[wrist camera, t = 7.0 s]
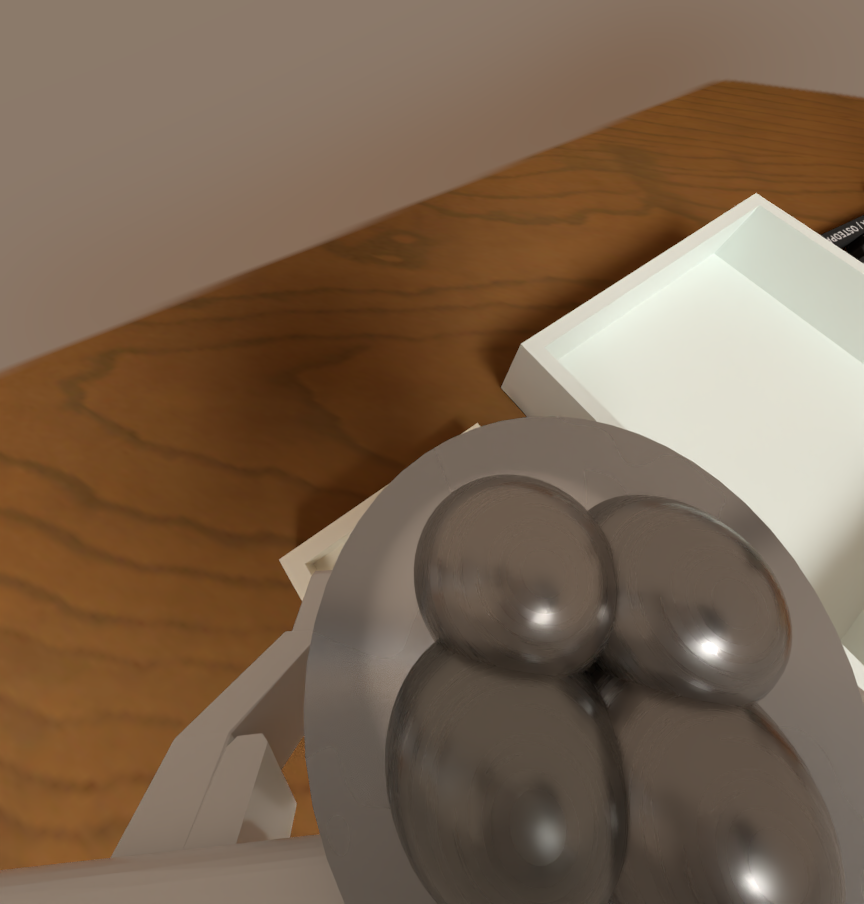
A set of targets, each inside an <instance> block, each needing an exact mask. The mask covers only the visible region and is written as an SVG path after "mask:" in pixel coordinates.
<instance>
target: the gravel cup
mask: <svg viewBox="0 0 864 904" xmlns="http://www.w3.org/2000/svg"><path fill="white" fill-rule="evenodd" d="M304 733H305V758H306V764H307V771H308V778H309V784H310V791H311V798H312V804H313V809H314V813H315V817H316V821H317V824H318V828H319V832H320V835H321V839H322V843H323V847H324V850H325V854H326V858H327V861H328V863H329V866H330V868H331V871H332V873H333V876H334V878H335V881H336V883H337V886H338V888H339V891H340V893H341V896H342V898H343V901H344V904H864V704H863V701H862V698H861V695H860V692H859V688H858V685H857V682H856V679H855V676H854V673H853V669H852V667H851V664H850V662H849V660H848V657H847V655H846V653H845V650H844V648H843V645H842V643H841V641H840V638H839V636H838V634H837V631H836V629H835V627H834V625H833V623H832V621H831V619H830V618H829V616H828V614H827V612H826V610H825V608H824V606H823V605H822V603H821V601H820V599H819V597H818V595H817V593H816V592H815V590H814V589H813V587H812V585H811V584H810V582H809V581H808V579H807V578H806V576H805V575H804V573H803V572H802V570H801V569H800V567H799V566H798V564H797V563H796V561H795V560H794V558H793V557H792V556H791V555H790V553H789V552H788V551H787V549H786V548H785V547H784V546H783V544H782V543H781V542H780V541H779V539H778V538H777V537H776V536H775V534H774V533H773V532H772V531H771V529H770V528H769V527H768V526H767V525H766V524H765V523H764V522H763V521H762V520H761V519H760V518H759V517H758V516H757V515H756V514H755V513H754V512H753V511H752V509H751V508H750V507H749V506H748V505H747V504H746V503H745V502H743V501H742V500H741V499H740V498H739V497H738V496H737V495H735V494H734V493H733V492H732V491H731V490H730V489H729V488H727V487H726V486H725V485H724V484H723V483H722V482H720V481H719V480H718V479H716V478H715V477H714V476H712V475H711V474H709V473H708V472H707V471H705V470H704V469H702V468H701V467H700V466H698V465H697V464H695V463H694V462H693V461H691V460H689V459H687V458H686V457H684V456H682V455H680V454H679V453H677V452H675V451H673V450H672V449H670V448H668V447H667V446H664V445H662V444H660V443H658V442H656V441H653V440H651V439H649V438H647V437H644V436H642V435H640V434H638V433H634V432H631V431H628V430H625V429H622V428H619V427H616V426H613V425H610V424H605V423H600V422H595V421H591V420H586V419H579V418H568V417H557V416H548V417H525V418H518V419H512V420H505V421H499V422H496V423H492V424H489V425H485V426H482V427H478V428H475V429H472V430H470V431H468V432H465V433H463V434H461V435H458V436H456V437H454V438H451V439H449V440H447V441H445V442H444V443H442V444H440V445H439V446H437V447H435V448H434V449H432V450H430V451H429V452H427V453H425V454H424V455H422V456H421V457H420V458H418V459H417V460H416V461H415V462H413V463H412V464H411V465H409V466H408V467H407V468H406V469H404V470H403V471H402V472H401V473H400V474H399V475H398V476H397V477H396V478H395V479H394V480H393V481H392V482H391V483H390V484H389V485H388V486H387V487H386V488H385V489H384V490H383V491H382V492H381V493H380V494H379V495H378V496H377V497H376V499H375V500H374V501H373V503H372V504H371V505H370V507H369V508H368V509H367V510H366V512H365V513H364V514H363V516H362V517H361V518H360V520H359V521H358V523H357V524H356V526H355V528H354V529H353V531H352V533H351V534H350V536H349V538H348V540H347V541H346V543H345V545H344V546H343V548H342V550H341V552H340V554H339V556H338V559H337V561H336V563H335V565H334V568H333V570H332V572H331V575H330V577H329V579H328V581H327V584H326V587H325V590H324V593H323V596H322V600H321V603H320V606H319V609H318V613H317V616H316V619H315V623H314V628H313V633H312V639H311V644H310V650H309V655H308V660H307V668H306V682H305V696H304Z"/></svg>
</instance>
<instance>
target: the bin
mask: <svg viewBox="0 0 864 904" xmlns="http://www.w3.org/2000/svg"><path fill="white" fill-rule="evenodd" d="M501 388H502V390H503V391H504V392H505V393H506V394H507V395H508V396H509V397H510V398H511V399H512V401H513V402H514V403H515V404H516V405H517V406H518V407H519V408H520V409H521V410H522V412H523V413H524V414H525V415H526V416H527V417H548V416H557V417H568V418H579V419H586V420H591V421H595V422H600V423H605V424H610V425H613V426H616V427H619V428H622V429H625V430H628V431H631V432H634V433H638V434H640V435H642V436H644V437H647V438H649V439H651V440H653V441H656V442H658V443H660V444H662V445H664V446H667V447H668V448H670V449H672V450H673V451H675V452H677V453H679V454H680V455H682V456H684V457H686V458H687V459H689V460H691V461H693V462H694V463H695V464H697V465H698V466H700V467H701V468H702V469H704V470H705V471H707V472H708V473H709V474H711V475H712V476H714V477H715V478H716V479H718V480H719V481H720V482H722V483H723V484H724V485H725V486H726V487H727V488H729V489H730V490H731V491H732V492H733V493H734V494H735V495H737V496H738V497H739V498H740V499H741V500H742V501H743V502H745V503H746V504H747V505H748V506H749V507H750V508H751V509H752V511H753V512H754V513H755V514H756V515H757V516H758V517H759V518H760V519H761V520H762V521H763V522H764V523H765V524H766V525H767V526H768V527H769V528H770V529H771V531H772V532H773V533H774V534H775V536H776V537H777V538H778V539H779V541H780V542H781V543H782V544H783V546H784V547H785V548H786V549H787V551H788V552H789V553H790V555H791V556H792V557H793V558H794V560H795V561H796V563H797V564H798V566H799V567H800V569H801V570H802V572H803V573H804V575H805V576H806V578H807V579H808V581H809V582H810V584H811V585H812V587H813V589H814V590H815V592H816V593H817V595H818V597H819V599H820V601H821V603H822V605H823V606H824V608H825V610H826V612H827V614H828V616H829V618H830V619H831V621H832V623H833V625H834V627H835V629H836V631H837V634H838V636H839V638H840V641H841V643H842V645H843V648H844V650H845V653H846V655H847V657H848V660H849V662H850V664H851V667H852V669H853V673H854V676H855V679H856V682H857V685H858V686H859V687H860V688H861V689H862V690H863V691H864V264H863V263H862V262H860V261H859V260H857V259H856V258H854V257H853V256H851V255H850V254H848V253H847V252H845V251H843V250H842V249H840V248H839V247H837V246H836V245H834V244H833V243H831V242H830V241H828V240H827V239H825V238H824V237H822V236H821V235H819V234H818V233H816V232H815V231H813V230H811V229H810V228H808V227H807V226H805V225H804V224H802V223H801V222H799V221H798V220H796V219H795V218H793V217H792V216H790V215H789V214H787V213H786V212H784V211H783V210H781V209H780V208H778V207H776V206H775V205H773V204H772V203H770V202H769V201H767V200H766V199H764V198H763V197H761V196H760V195H758V194H757V193H755V194H754V195H752V196H751V197H749V198H748V199H746V200H745V201H743V202H741V203H740V204H738V205H737V206H735V207H734V208H732V209H731V210H729V211H727V212H726V213H724V214H723V215H721V216H720V217H718V218H716V219H715V220H713V221H712V222H710V223H709V224H707V225H706V226H704V227H702V228H701V229H699V230H698V231H696V232H695V233H693V234H692V235H690V236H688V237H687V238H685V239H684V240H682V241H681V242H679V243H677V244H676V245H674V246H673V247H671V248H670V249H668V250H667V251H665V252H663V253H662V254H660V255H659V256H657V257H656V258H654V259H652V260H651V261H649V262H648V263H646V264H645V265H643V266H642V267H640V268H638V269H637V270H635V271H634V272H632V273H631V274H629V275H628V276H626V277H624V278H623V279H621V280H620V281H618V282H617V283H615V284H613V285H612V286H610V287H609V288H607V289H606V290H604V291H603V292H601V293H599V294H598V295H596V296H595V297H593V298H592V299H590V300H589V301H587V302H585V303H584V304H582V305H581V306H579V307H578V308H576V309H574V310H573V311H571V312H570V313H568V314H567V315H565V316H564V317H562V318H560V319H559V320H557V321H556V322H554V323H553V324H551V325H550V326H548V327H546V328H545V329H543V330H542V331H540V332H539V333H537V334H535V335H534V336H532V337H531V338H529V339H528V340H526V341H525V342H523V343H521V345H520V347H519V349H518V351H517V353H516V355H515V358H514V360H513V362H512V364H511V366H510V369H509V371H508V373H507V375H506V377H505V379H504V382H503V384H502V386H501Z"/></svg>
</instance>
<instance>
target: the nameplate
mask: <svg viewBox="0 0 864 904" xmlns="http://www.w3.org/2000/svg"><path fill="white" fill-rule="evenodd" d="M821 236H822V237H824V238H825V239H827V240H828V241H830V242H831V243H833V244H834V245H836V246H837V247H839V248H840V249H842V248H844V247H846V249H847V252H848V254H850V255H851V256H853V257H854V258H856V259H857V260H859V261H860V262H862V263H863V264H864V215H863V216H861V217H859V218H856V219H854V220H852V221H850V222H848V223H846V224H843V225H841V226H839V227H837V228H835V229H833V230H831V231H828V232H826V233H824V234H822V235H821Z"/></svg>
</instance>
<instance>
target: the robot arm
mask: <svg viewBox="0 0 864 904" xmlns="http://www.w3.org/2000/svg"><path fill="white" fill-rule="evenodd" d="M331 572H332V570H323V571H315V572H314V573H313V575H312V576H311V578H310V581H309V584H308V587H307V590H306V593H305V595H304V598H303V601H302V604H301V607H300V610H299V612H298V615H297V618H296V621H295V624H294V626H293V629H292V631H286V632H284V633H283V634H282V635H281V636H280V637H279V638H278V639H277V640H276V641H275V642H274V643H273V644H272V645H271V646H270V647H269V648H268V649H267V650H266V651H265V652H264V653H263V654H262V655H261V656H260V657H258V658H257V659H256V660H255V661H254V662H253V663H252V664H251V665H250V666H249V667H248V668H247V669H246V670H245V671H244V672H243V673H242V674H241V675H240V676H239V677H238V678H237V679H236V680H235V681H234V682H233V683H232V684H231V685H230V686H229V687H227V688H226V689H225V690H224V691H223V692H222V693H221V694H220V695H219V696H218V697H217V698H216V699H215V700H214V701H213V702H212V703H211V704H210V705H209V706H208V707H207V708H206V709H205V710H204V711H203V712H202V713H201V714H200V715H199V716H198V717H196V718H195V719H194V720H193V721H192V722H191V723H190V724H189V725H188V726H187V727H186V728H185V729H184V730H183V731H182V732H181V733H180V734H179V735H178V736H177V737H176V738H175V739H174V741H173V743H172V745H171V746H170V748H169V750H168V752H167V754H166V756H165V758H164V759H163V761H162V763H161V765H160V767H159V769H158V771H157V772H156V774H155V776H154V778H153V780H152V782H151V784H150V785H149V787H148V789H147V791H146V793H145V795H144V797H143V798H142V800H141V802H140V804H139V806H138V808H137V810H136V812H135V813H134V815H133V817H132V819H131V821H130V823H129V825H128V826H127V828H126V830H125V832H124V834H123V836H122V838H121V839H120V841H119V843H118V845H117V847H116V849H115V851H114V852H113V854H112V856H111V858H105V859H96V860H88V861H79V862H70V863H61V864H52V865H43V866H34V867H25V868H16V869H7V870H0V904H344V901H343V898H342V896H341V893H340V891H339V888H338V886H337V883H336V881H335V878H334V876H333V873H332V871H331V868H330V866H329V863H328V861H327V858H326V854H325V850H324V847H323V843H322V839H321V835H320V834H319V835H310V836H301V837H292V838H290V834H291V829H292V824H293V819H294V814H295V810H296V805H297V803H296V801H295V799H294V797H293V795H292V792H291V790H290V788H289V786H288V784H287V782H286V780H285V778H284V775H283V773H282V771H281V769H282V768H283V766H284V765H285V763H286V762H287V760H288V759H289V757H290V756H291V754H292V753H293V751H294V749H295V748H296V746H297V745H298V743H299V742H300V740H301V739H302V737H303V736H304V734H305V733H304V696H305V682H306V668H307V660H308V655H309V650H310V644H311V639H312V633H313V628H314V623H315V619H316V616H317V613H318V609H319V606H320V603H321V600H322V596H323V593H324V590H325V587H326V584H327V581H328V579H329V577H330V575H331ZM858 688H859V692H860V695H861V698H862V701H863V704H864V691H863V690H862V689H861V688H860V687H859V686H858Z"/></svg>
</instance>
